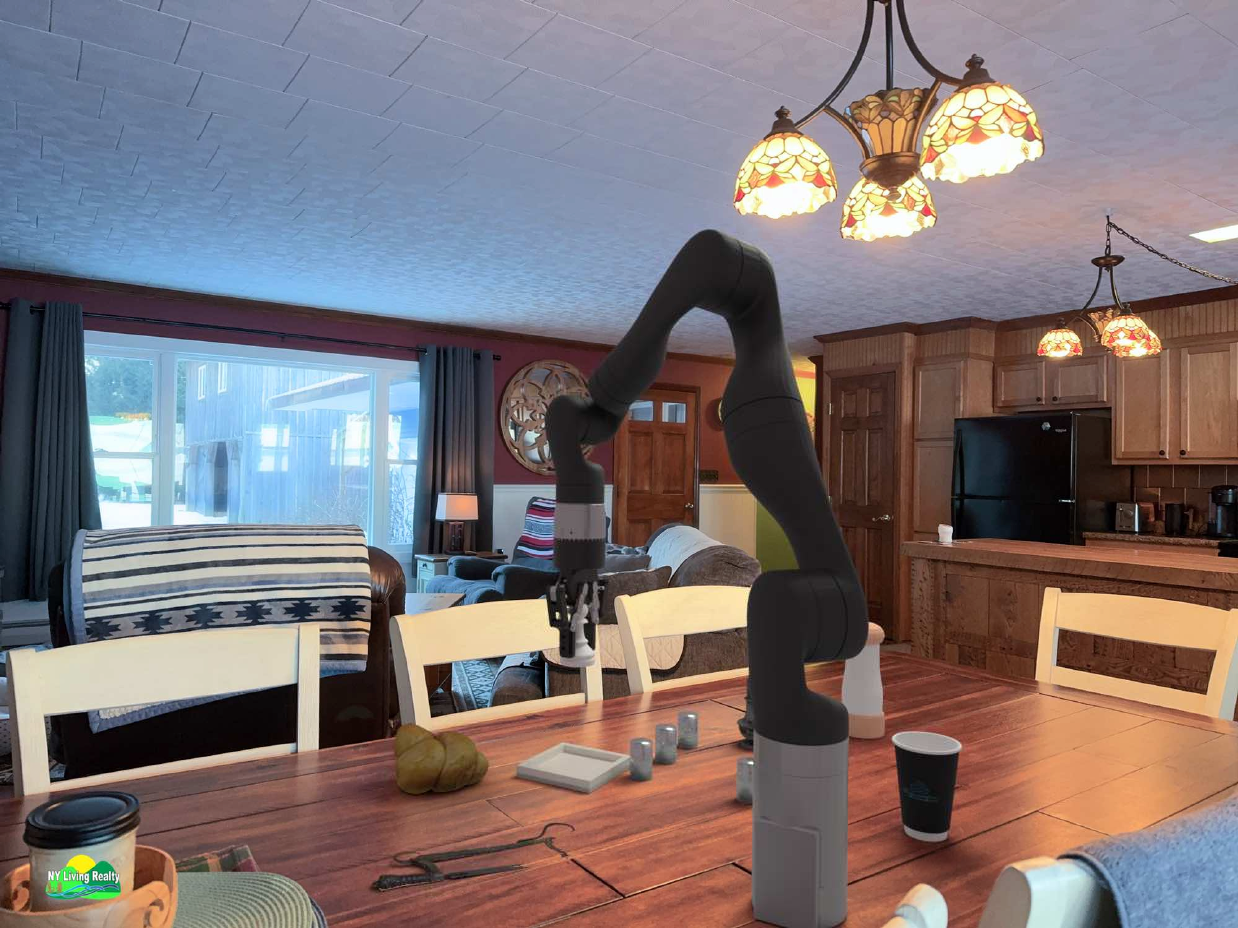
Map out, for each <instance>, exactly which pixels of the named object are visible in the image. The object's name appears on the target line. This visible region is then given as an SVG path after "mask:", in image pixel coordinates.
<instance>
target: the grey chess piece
mask: <svg viewBox="0 0 1238 928" xmlns="http://www.w3.org/2000/svg"><path fill="white" fill-rule="evenodd" d="M743 698H744V700H745V714H744V717H741V718H738V719H737V721H736V724H737V725H738V730H739V732H740V734H741V736H742V737H743V739H741V740H740V741H738V747H740V748H741V749H745V750H747V751H753V750H754V715H753V708H752V703H751V698H750V691H749V676H748V677H747V679H746V696H744V697H743Z"/></svg>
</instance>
